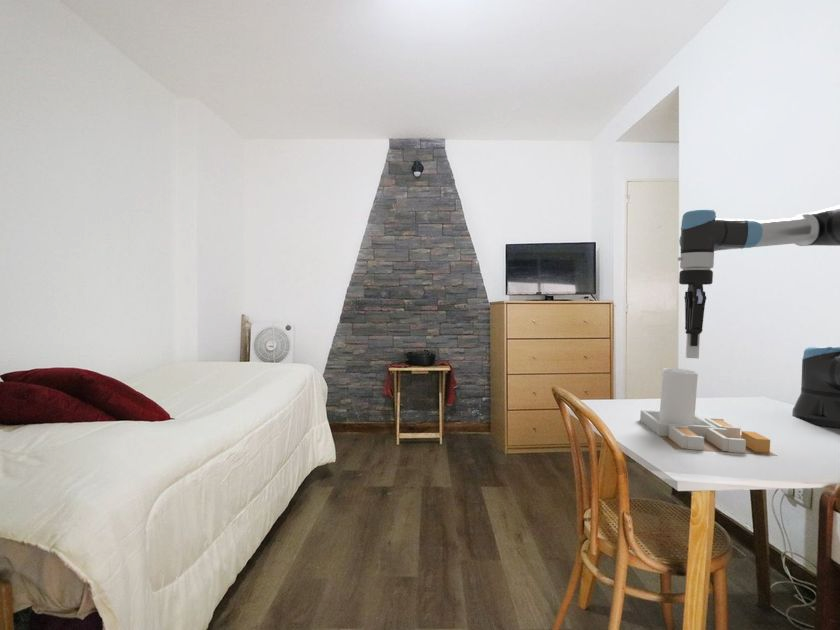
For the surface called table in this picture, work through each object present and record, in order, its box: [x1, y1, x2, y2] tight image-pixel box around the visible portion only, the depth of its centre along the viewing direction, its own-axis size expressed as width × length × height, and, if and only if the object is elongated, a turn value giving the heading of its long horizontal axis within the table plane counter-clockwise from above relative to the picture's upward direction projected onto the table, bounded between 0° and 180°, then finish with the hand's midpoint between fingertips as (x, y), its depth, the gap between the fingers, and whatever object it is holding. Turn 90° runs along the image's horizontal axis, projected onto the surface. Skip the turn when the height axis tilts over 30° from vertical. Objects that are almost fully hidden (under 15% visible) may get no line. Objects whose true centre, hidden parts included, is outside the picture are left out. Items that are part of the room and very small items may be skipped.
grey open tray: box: [706, 428, 746, 454], centre depth 107 cm, size 4×9×3 cm, turn 171°
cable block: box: [740, 430, 771, 452], centre depth 105 cm, size 3×6×3 cm, turn 171°
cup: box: [659, 367, 699, 425], centre depth 119 cm, size 8×8×16 cm
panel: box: [645, 424, 778, 457], centre depth 114 cm, size 22×24×1 cm
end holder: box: [639, 409, 718, 438], centre depth 119 cm, size 14×14×3 cm
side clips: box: [669, 417, 741, 451], centre depth 112 cm, size 18×19×3 cm
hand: (692, 357), depth 117 cm, fingers closed
